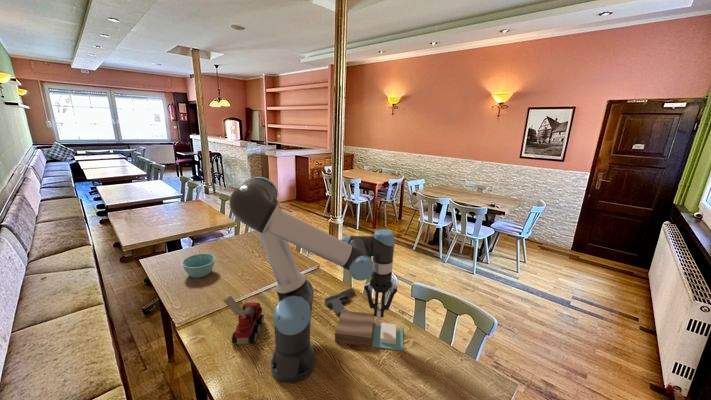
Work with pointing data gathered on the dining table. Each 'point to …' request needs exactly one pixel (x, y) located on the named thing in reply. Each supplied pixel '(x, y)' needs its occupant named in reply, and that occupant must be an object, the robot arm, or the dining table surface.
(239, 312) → the toy fire truck
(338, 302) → the handgun
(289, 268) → the robot arm
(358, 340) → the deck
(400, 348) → the mat
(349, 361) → the dining table surface
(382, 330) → the white rectangular block
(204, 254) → the bowl
